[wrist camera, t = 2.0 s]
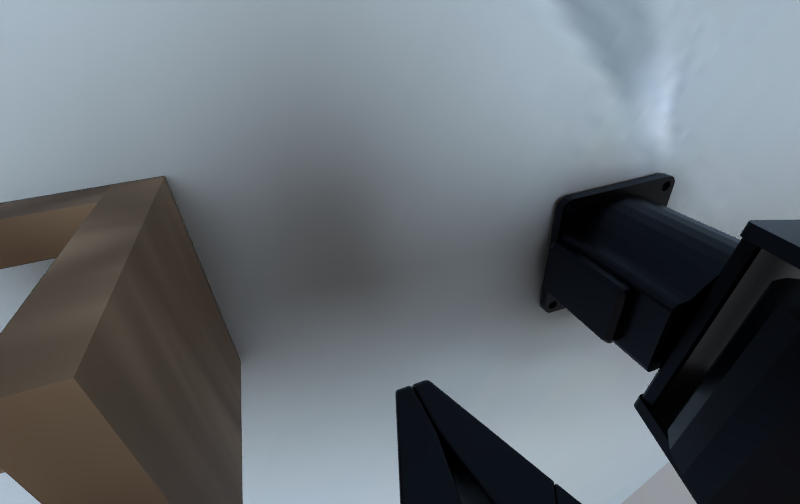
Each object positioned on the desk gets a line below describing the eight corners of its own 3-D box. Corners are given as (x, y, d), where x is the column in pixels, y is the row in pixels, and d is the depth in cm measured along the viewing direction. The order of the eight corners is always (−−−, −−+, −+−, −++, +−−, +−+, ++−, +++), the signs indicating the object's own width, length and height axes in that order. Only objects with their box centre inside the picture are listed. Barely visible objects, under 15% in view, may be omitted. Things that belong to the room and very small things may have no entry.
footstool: (164, 175, 11) (72, 377, 5) (240, 361, 16) (243, 598, 9) (-39, 209, 10) (-503, 535, 4) (104, 401, 15) (-1, 707, 8)
